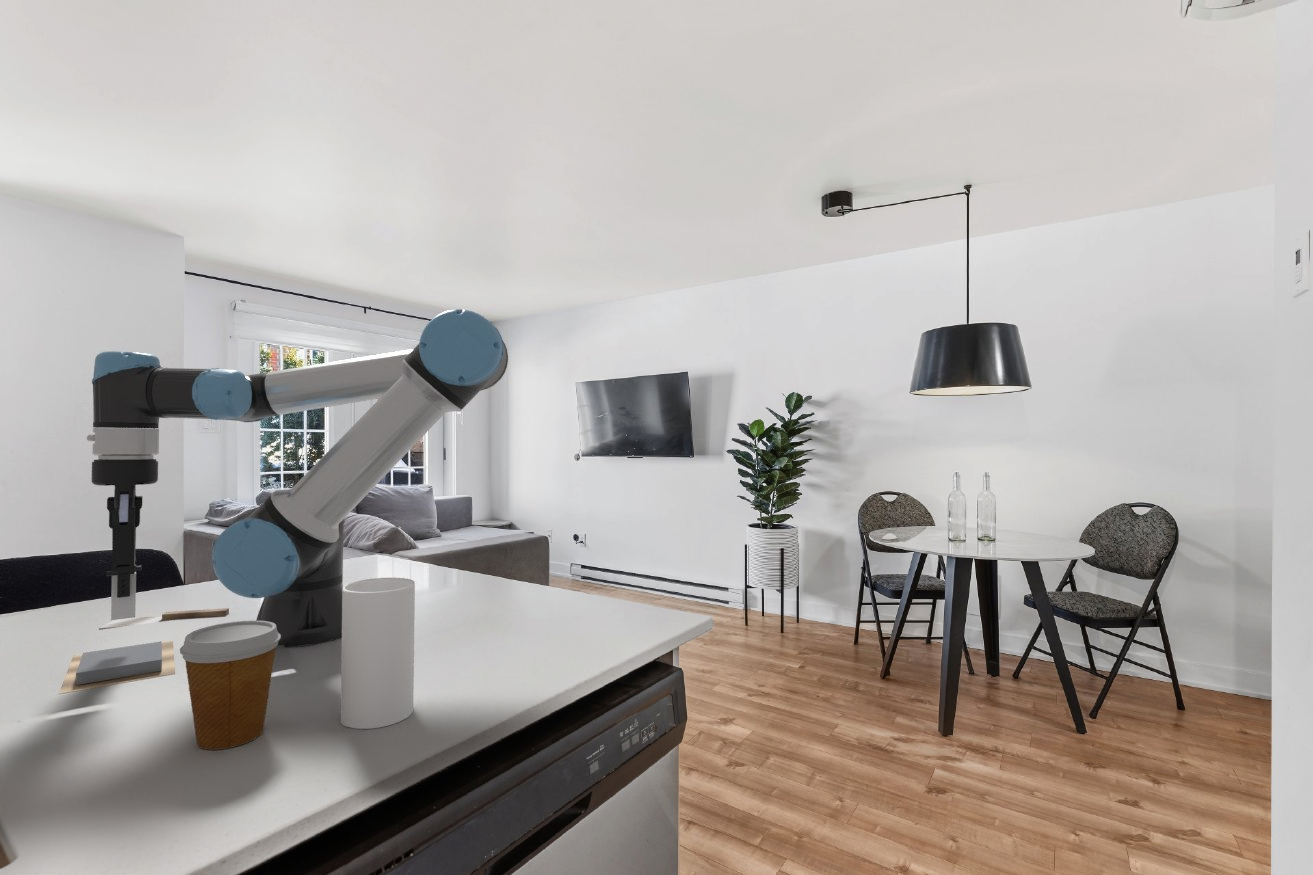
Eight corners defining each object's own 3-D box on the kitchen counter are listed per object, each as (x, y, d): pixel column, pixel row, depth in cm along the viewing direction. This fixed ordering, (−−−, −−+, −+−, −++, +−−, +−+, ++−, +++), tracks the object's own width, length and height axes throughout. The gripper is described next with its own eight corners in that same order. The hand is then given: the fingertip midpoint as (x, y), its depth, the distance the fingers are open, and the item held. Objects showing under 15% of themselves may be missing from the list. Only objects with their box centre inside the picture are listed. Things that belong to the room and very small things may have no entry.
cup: (367, 735, 73) (369, 595, 73) (326, 718, 77) (328, 586, 77) (427, 710, 80) (429, 582, 80) (386, 695, 84) (388, 574, 84)
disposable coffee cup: (212, 719, 76) (213, 619, 76) (294, 717, 77) (296, 618, 77) (156, 759, 67) (158, 645, 67) (251, 756, 68) (253, 643, 68)
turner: (232, 613, 122) (232, 605, 122) (221, 622, 117) (221, 613, 117) (115, 621, 117) (115, 612, 117) (98, 630, 111) (98, 621, 111)
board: (73, 659, 96) (73, 655, 96) (172, 644, 103) (172, 640, 103) (58, 698, 82) (58, 693, 82) (175, 677, 89) (175, 673, 89)
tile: (83, 652, 92) (76, 673, 84) (161, 641, 98) (161, 659, 90) (82, 664, 92) (75, 686, 84) (161, 652, 98) (161, 671, 90)
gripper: (95, 456, 96) (93, 611, 96) (88, 459, 86) (85, 633, 86) (158, 456, 101) (155, 604, 101) (158, 458, 91) (155, 623, 91)
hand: (123, 617), depth 94 cm, fingers closed
